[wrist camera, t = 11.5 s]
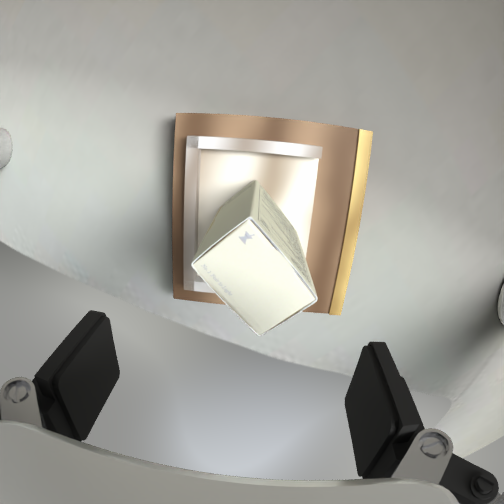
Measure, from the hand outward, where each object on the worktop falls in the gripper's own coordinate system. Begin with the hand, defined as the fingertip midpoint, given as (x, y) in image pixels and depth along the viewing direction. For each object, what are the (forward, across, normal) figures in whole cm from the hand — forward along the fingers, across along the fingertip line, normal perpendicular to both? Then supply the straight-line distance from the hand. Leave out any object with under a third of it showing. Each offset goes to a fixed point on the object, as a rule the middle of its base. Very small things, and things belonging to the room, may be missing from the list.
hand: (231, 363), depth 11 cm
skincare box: (+19, 0, 0) cm, 19 cm away
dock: (+22, -1, 0) cm, 22 cm away
